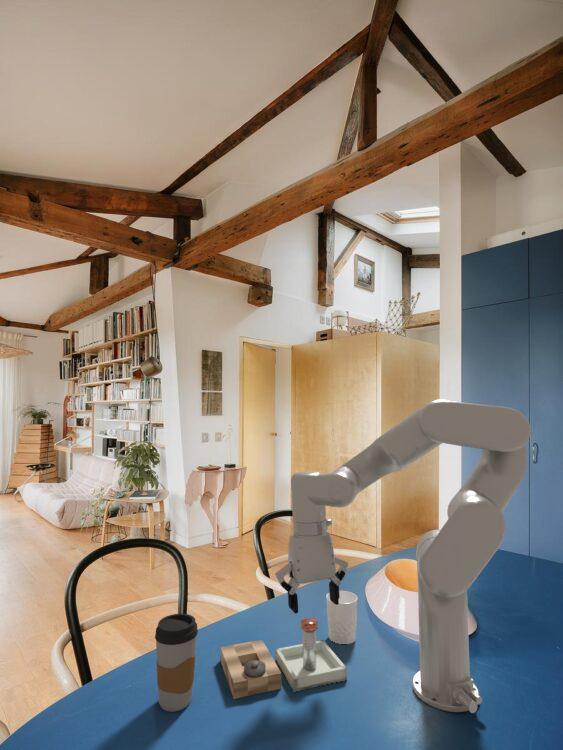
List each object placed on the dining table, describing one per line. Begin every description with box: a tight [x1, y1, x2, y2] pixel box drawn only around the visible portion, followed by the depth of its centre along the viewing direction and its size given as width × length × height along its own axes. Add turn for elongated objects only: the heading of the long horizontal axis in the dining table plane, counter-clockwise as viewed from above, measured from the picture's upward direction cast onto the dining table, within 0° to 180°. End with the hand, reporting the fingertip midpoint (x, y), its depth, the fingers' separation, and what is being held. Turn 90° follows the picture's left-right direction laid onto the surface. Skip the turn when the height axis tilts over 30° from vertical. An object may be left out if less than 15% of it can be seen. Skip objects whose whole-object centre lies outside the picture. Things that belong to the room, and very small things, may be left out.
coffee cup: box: [154, 613, 199, 712], centre depth 86 cm, size 8×8×15 cm
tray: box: [275, 639, 348, 693], centre depth 96 cm, size 12×12×2 cm
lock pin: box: [300, 617, 319, 671], centre depth 96 cm, size 4×4×10 cm
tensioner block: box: [219, 639, 282, 700], centre depth 95 cm, size 14×10×5 cm
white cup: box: [325, 590, 358, 645], centre depth 110 cm, size 8×8×10 cm
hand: (314, 606), depth 97 cm, fingers open, 9 cm apart
